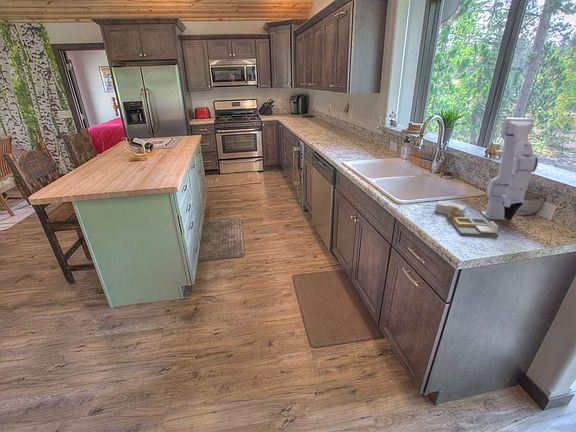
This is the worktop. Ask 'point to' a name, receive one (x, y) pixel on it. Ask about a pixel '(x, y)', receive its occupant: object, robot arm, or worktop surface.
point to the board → (471, 226)
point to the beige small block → (453, 211)
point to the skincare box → (444, 208)
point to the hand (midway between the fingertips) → (507, 219)
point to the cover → (488, 228)
